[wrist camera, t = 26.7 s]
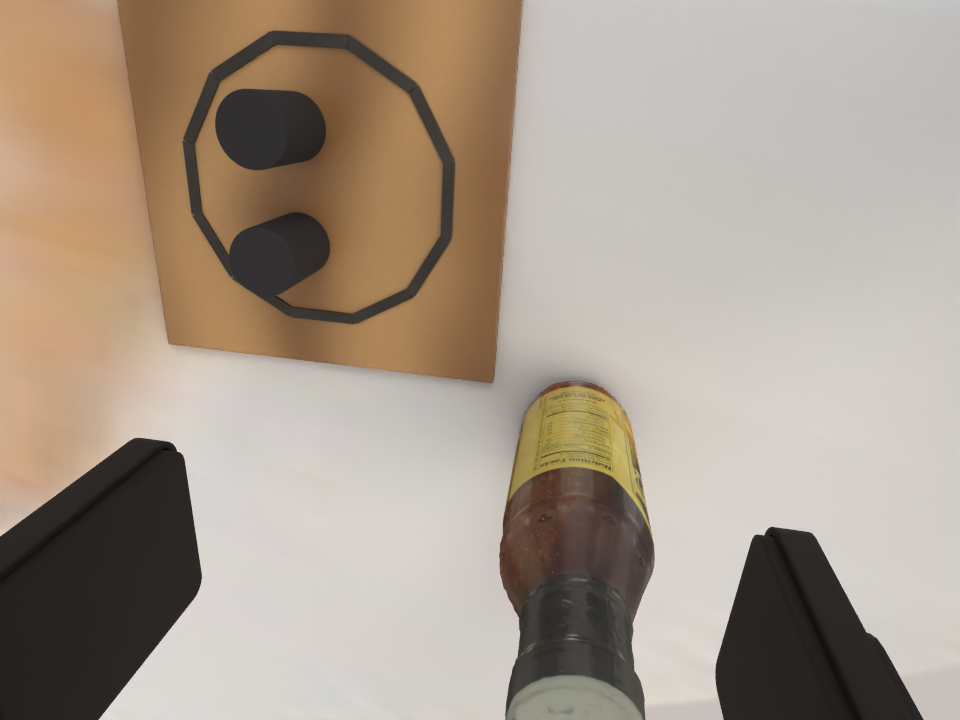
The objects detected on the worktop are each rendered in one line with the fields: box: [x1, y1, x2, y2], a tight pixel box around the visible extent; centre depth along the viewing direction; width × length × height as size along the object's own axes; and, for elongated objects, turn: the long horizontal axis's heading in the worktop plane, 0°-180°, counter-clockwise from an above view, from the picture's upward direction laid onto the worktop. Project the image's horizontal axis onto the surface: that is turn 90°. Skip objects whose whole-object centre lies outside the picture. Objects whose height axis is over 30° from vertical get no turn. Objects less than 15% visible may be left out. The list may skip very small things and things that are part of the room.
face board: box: [117, 0, 523, 383], centre depth 33 cm, size 20×20×1 cm
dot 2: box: [215, 89, 326, 170], centre depth 29 cm, size 3×3×4 cm
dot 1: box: [229, 212, 330, 296], centre depth 32 cm, size 3×3×4 cm
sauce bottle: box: [499, 382, 655, 720], centre depth 27 cm, size 7×6×20 cm
